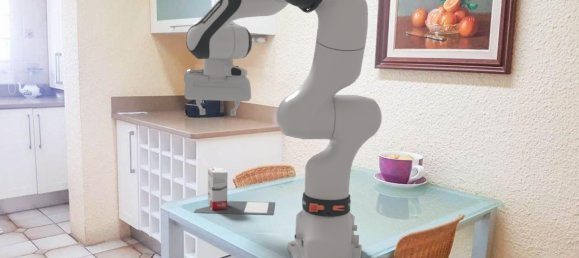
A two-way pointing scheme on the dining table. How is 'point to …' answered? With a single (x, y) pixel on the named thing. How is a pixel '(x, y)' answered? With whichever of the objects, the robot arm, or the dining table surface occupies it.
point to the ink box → (217, 188)
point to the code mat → (242, 208)
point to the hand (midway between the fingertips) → (217, 115)
